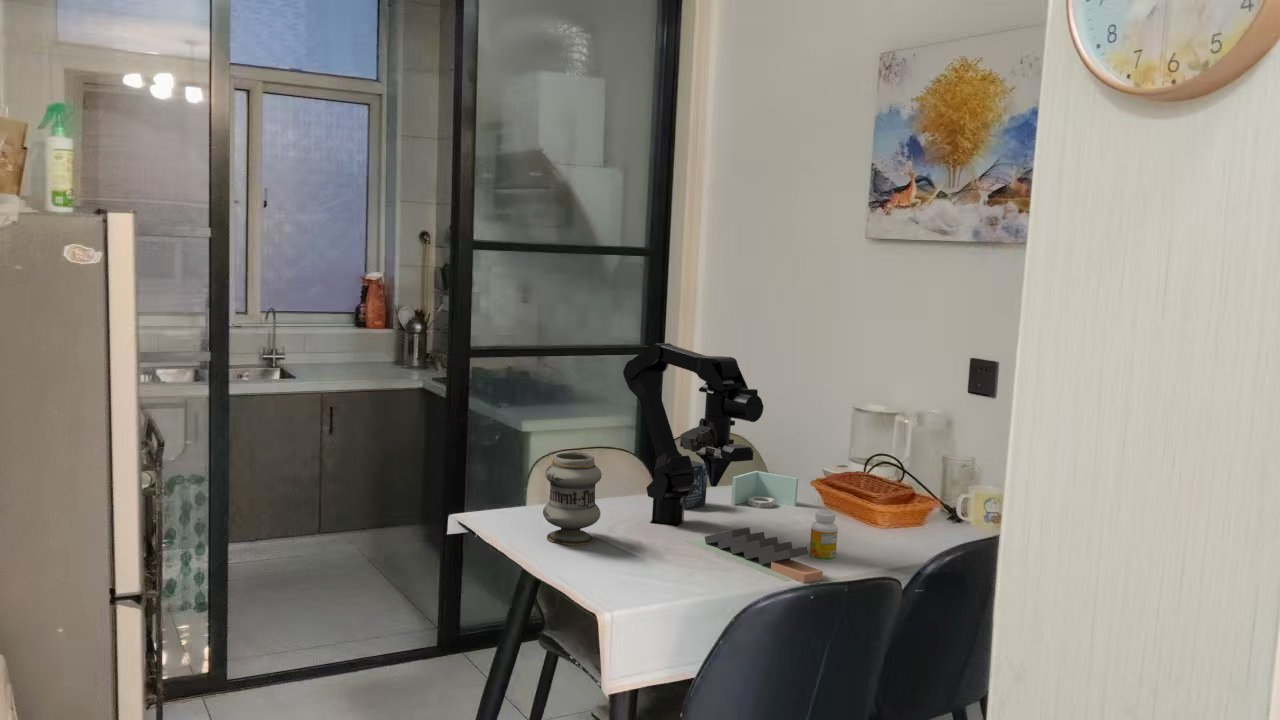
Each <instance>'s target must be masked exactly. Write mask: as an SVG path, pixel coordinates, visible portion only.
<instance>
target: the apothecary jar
mask: <svg viewBox="0 0 1280 720" xmlns="http://www.w3.org/2000/svg"><path fill="white" fill-rule="evenodd" d="M544 476H545V478H546V480H547V481H548V482H549V483H550V485H549V488H550V489H549V499H548V502H547V503H545V505H544V507H543V509H542V515H543V517H544V519H545V520H546V521H547V522H548V523H549V524H551V525H553V526H555V527H558V528H560V529H557V530H553V531H551V532H549V533H548V534H547V535H546V539H547V540H548V541H549V542H551V543H554V544H561V545H563V546H585V545H589V544H591V543H593V542H594V539H595V538H594V537H593V536H592V535H591V534H590V533H588V532H587V531H584V530H583V529H585V528H588V527H590V526H593V525H595V524H596V523H597V522H598V521H599V519H600V518H601V509H600V507H599V506H598V505H597V504H596V485H597V484H598V482H600V481H601V479H602V471H601V469H600V468H599V467H598V466H597V465H596V463H595V456H594V454H591V453H587V452H583V451H581V452H580V451H563V452H557V453H556V454H554V455H553V460H552V462H551V464H549V465H548V466H547V467H546V468H545V472H544ZM581 529H582V530H581Z"/></svg>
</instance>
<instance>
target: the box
mask: <svg viewBox="0 0 1280 720" xmlns="http://www.w3.org/2000/svg"><path fill="white" fill-rule="evenodd" d="M691 464H692V467H693V469H694V471H695V472H694V473H693V474H694V482H693V485H692V487H691V490H690V493H689V495H688V496H687V497H683V501H682V503H684V504H685V508H684V511H685V510H688V509H694V508H699V507H705V506H706V500H707V488H708V487H707V484H708V474H707V470H706V466H705V463H704V462H699V461H696V460H691Z"/></svg>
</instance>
